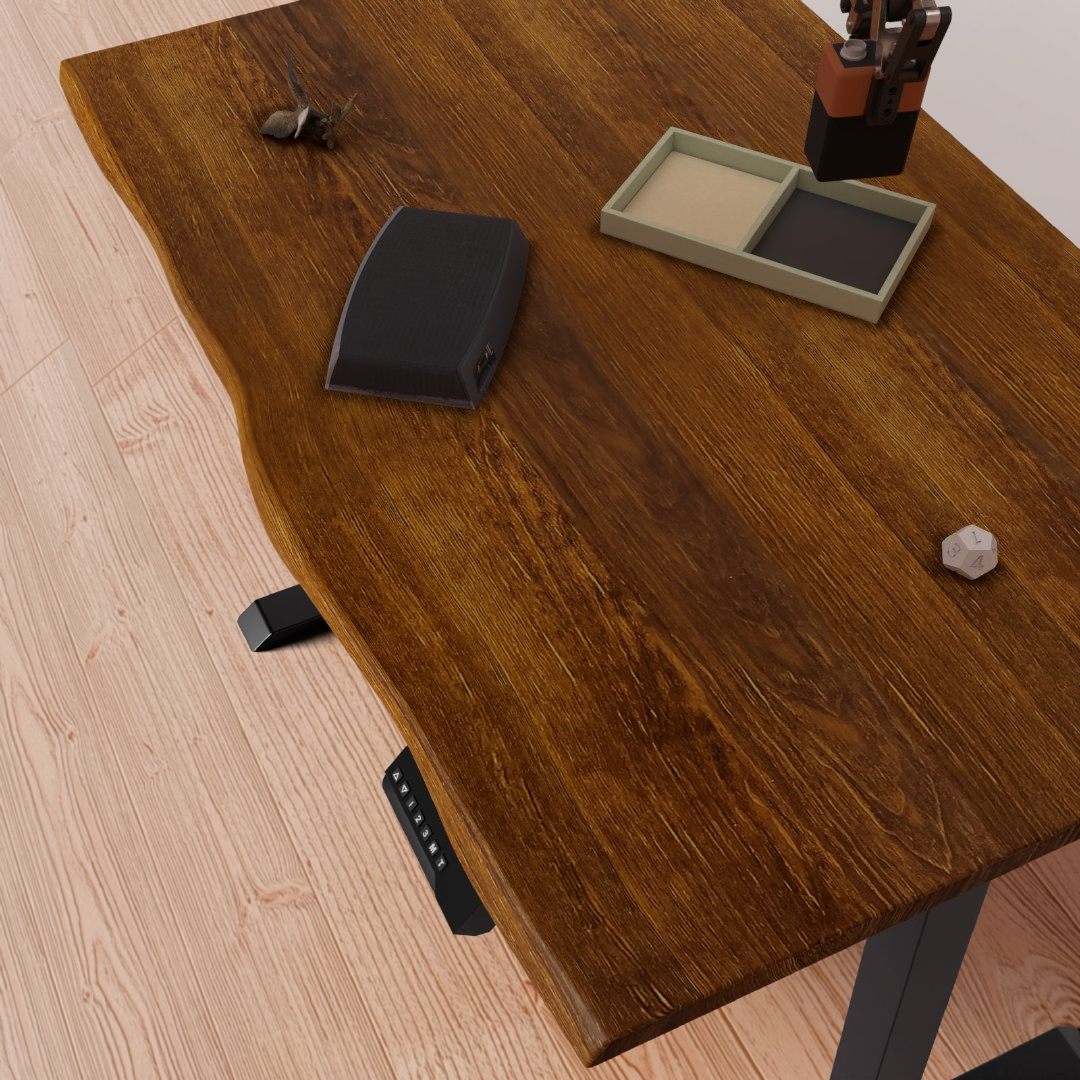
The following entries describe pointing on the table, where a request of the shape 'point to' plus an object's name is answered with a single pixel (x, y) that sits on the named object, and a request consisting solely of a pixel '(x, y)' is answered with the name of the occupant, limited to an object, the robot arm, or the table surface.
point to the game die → (970, 552)
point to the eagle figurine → (305, 114)
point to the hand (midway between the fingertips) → (866, 101)
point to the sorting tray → (770, 222)
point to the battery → (856, 118)
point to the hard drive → (430, 308)
